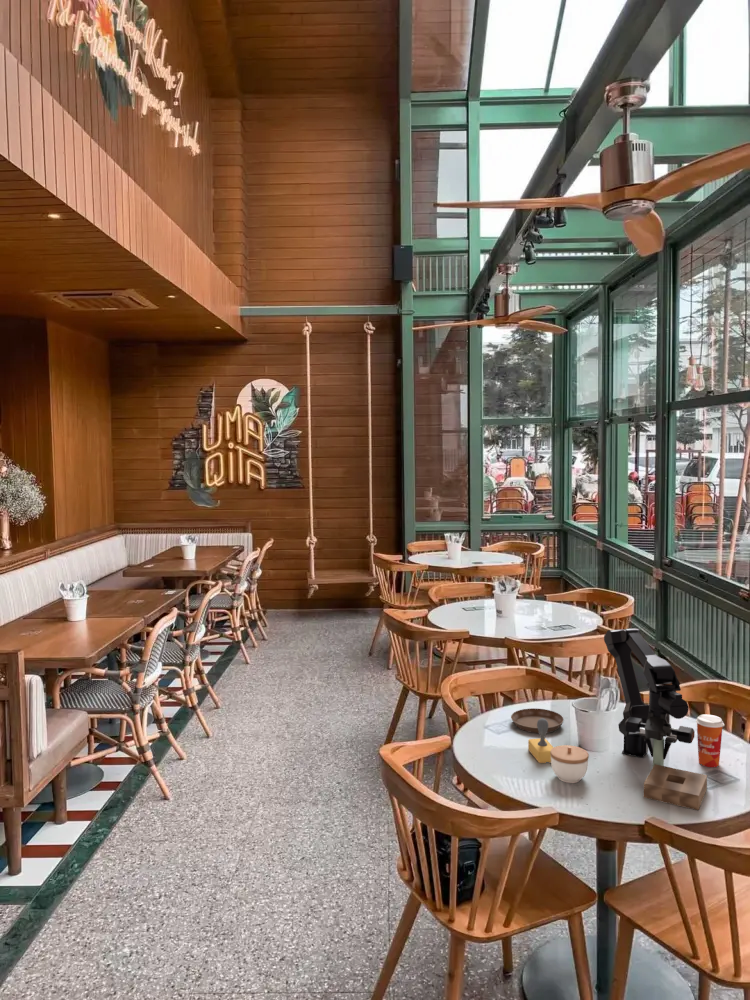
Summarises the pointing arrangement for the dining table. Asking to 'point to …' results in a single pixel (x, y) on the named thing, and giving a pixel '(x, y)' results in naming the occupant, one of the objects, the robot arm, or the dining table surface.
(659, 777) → the hole block
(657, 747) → the peg
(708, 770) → the dining table surface
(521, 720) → the plant saucer
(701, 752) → the paper cup
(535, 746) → the rubber stamp
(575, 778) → the lidded jar
